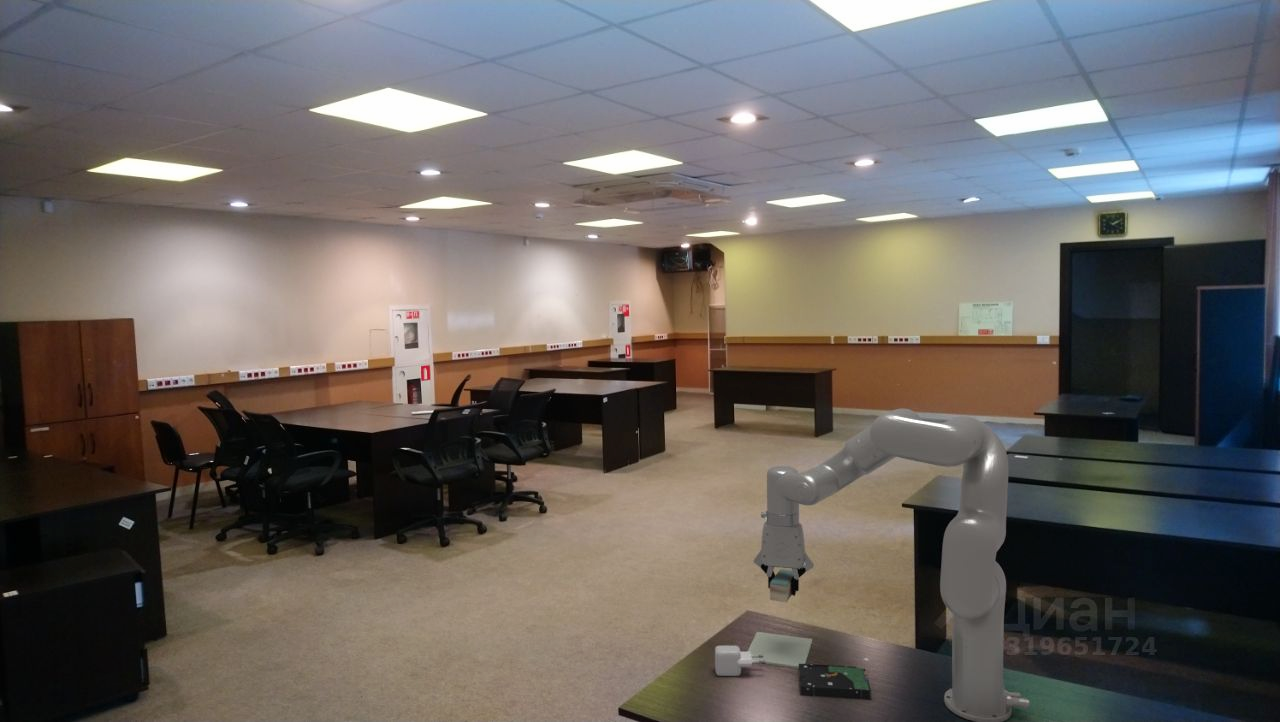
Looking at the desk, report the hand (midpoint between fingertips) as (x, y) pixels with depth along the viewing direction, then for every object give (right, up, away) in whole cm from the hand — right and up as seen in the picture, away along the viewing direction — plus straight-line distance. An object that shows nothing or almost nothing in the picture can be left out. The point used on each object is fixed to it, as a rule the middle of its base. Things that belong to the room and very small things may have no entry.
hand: (783, 591), depth 175 cm
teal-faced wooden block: (0, 0, 0) cm, 0 cm away
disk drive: (+8, -17, -15) cm, 24 cm away
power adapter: (-12, -16, -9) cm, 22 cm away
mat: (-1, -15, +1) cm, 15 cm away
